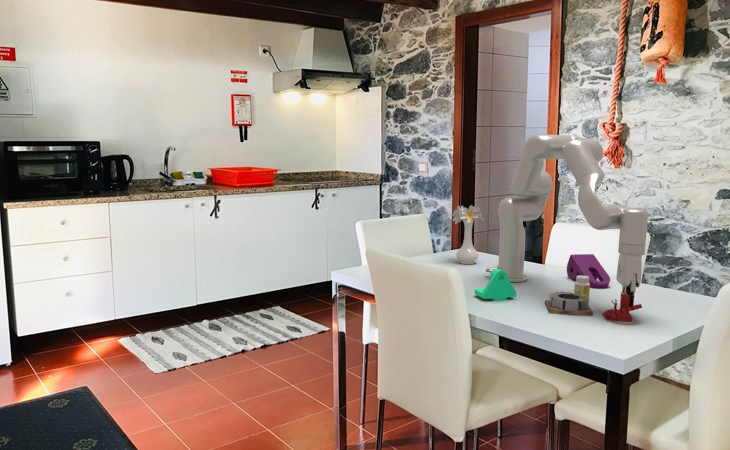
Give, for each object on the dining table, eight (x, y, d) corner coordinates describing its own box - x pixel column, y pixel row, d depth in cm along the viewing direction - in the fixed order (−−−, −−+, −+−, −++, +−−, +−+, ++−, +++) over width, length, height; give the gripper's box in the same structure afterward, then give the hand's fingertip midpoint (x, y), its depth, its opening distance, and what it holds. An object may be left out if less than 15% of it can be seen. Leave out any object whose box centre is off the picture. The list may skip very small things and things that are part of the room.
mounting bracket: (607, 301, 226) (587, 271, 241) (614, 284, 222) (593, 254, 236) (583, 302, 225) (564, 271, 240) (590, 284, 220) (570, 254, 235)
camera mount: (504, 294, 213) (506, 265, 212) (515, 299, 206) (517, 269, 204) (473, 296, 210) (474, 266, 208) (483, 302, 202) (485, 271, 201)
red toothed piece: (611, 311, 193) (613, 285, 192) (648, 320, 184) (650, 293, 183) (591, 316, 187) (593, 290, 186) (627, 327, 178) (630, 299, 176)
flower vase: (468, 257, 274) (470, 202, 270) (489, 266, 257) (492, 207, 253) (442, 259, 269) (443, 202, 266) (462, 268, 252) (464, 208, 248)
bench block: (549, 313, 190) (549, 309, 190) (544, 303, 201) (544, 300, 201) (593, 315, 188) (593, 311, 188) (585, 305, 199) (586, 302, 199)
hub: (552, 309, 190) (553, 298, 189) (547, 300, 201) (548, 289, 200) (590, 311, 188) (591, 300, 187) (583, 301, 199) (584, 290, 198)
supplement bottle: (588, 300, 206) (590, 275, 205) (588, 303, 201) (590, 278, 200) (573, 298, 207) (575, 274, 206) (573, 302, 203) (575, 277, 202)
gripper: (612, 243, 194) (608, 299, 197) (625, 252, 180) (620, 313, 183) (637, 244, 193) (633, 301, 196) (652, 254, 179) (647, 314, 181)
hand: (627, 306), depth 189 cm, fingers closed
